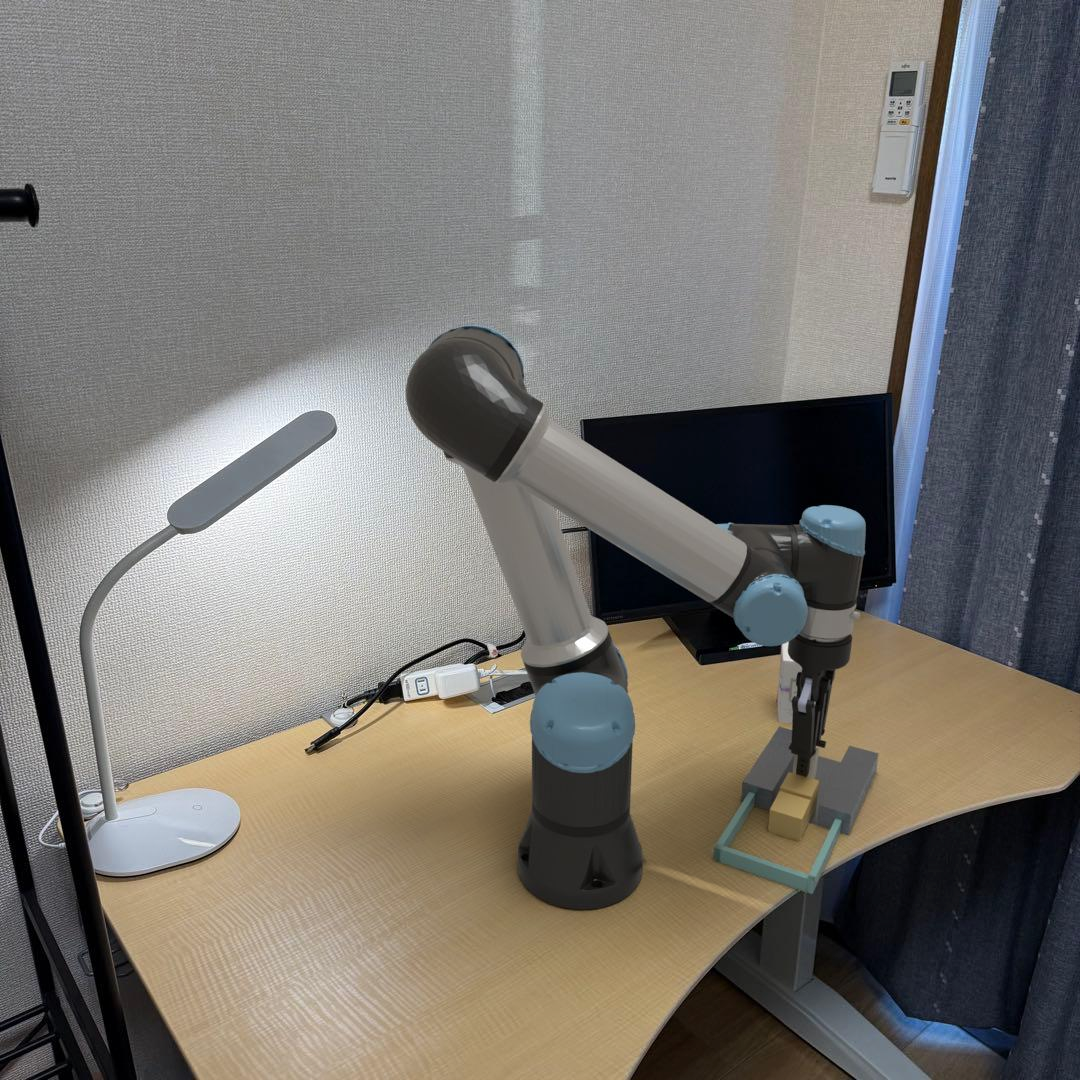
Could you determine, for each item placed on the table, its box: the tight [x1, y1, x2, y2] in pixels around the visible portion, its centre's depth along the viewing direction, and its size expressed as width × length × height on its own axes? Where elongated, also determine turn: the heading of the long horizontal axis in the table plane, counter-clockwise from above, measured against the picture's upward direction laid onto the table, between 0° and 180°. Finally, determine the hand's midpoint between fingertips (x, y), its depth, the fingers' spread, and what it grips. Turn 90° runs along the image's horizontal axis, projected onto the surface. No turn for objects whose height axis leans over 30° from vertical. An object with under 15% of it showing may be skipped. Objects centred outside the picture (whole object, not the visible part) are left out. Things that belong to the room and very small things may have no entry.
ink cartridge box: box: [776, 642, 802, 724], centre depth 147 cm, size 9×5×15 cm, turn 168°
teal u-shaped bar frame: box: [713, 792, 842, 895], centre depth 118 cm, size 13×12×3 cm
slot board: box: [740, 726, 880, 836], centre depth 130 cm, size 16×14×4 cm
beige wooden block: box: [780, 772, 819, 821], centre depth 124 cm, size 4×4×4 cm
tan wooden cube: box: [768, 791, 811, 842], centre depth 121 cm, size 4×4×4 cm
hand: (802, 790), depth 127 cm, fingers closed
